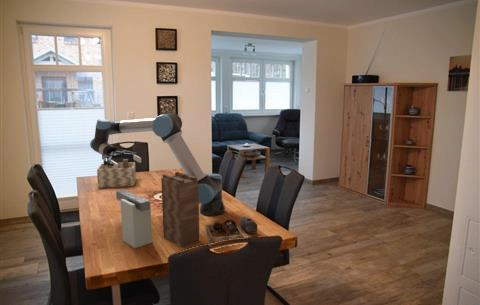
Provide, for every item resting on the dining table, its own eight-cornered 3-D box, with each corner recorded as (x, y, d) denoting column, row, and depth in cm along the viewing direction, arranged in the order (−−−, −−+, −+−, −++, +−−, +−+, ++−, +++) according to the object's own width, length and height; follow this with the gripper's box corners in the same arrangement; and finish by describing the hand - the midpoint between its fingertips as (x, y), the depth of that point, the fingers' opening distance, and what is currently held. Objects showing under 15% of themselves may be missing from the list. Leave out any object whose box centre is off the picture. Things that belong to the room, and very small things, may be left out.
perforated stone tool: (237, 226, 187) (236, 213, 186) (246, 224, 189) (246, 212, 188) (248, 236, 174) (248, 223, 173) (258, 235, 176) (258, 221, 175)
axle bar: (116, 198, 175) (116, 191, 175) (124, 197, 178) (123, 189, 177) (141, 211, 157) (141, 202, 156) (149, 209, 159) (149, 201, 159)
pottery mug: (232, 229, 184) (237, 218, 180) (234, 243, 177) (239, 232, 172) (210, 225, 181) (215, 214, 177) (211, 240, 174) (215, 229, 169)
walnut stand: (163, 237, 173) (161, 174, 168) (180, 231, 180) (178, 171, 175) (182, 247, 162) (180, 180, 157) (199, 241, 169) (198, 177, 163)
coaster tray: (235, 228, 185) (235, 222, 184) (243, 241, 169) (243, 235, 168) (206, 230, 181) (206, 225, 181) (211, 244, 165) (211, 238, 164)
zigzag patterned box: (135, 178, 292) (135, 162, 289) (134, 185, 270) (133, 167, 267) (102, 180, 286) (101, 163, 283) (98, 187, 264) (97, 169, 261)
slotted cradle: (122, 240, 169) (120, 199, 166) (139, 235, 175) (137, 195, 172) (134, 248, 161) (132, 205, 157) (152, 242, 167) (150, 201, 163)
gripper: (128, 152, 208) (149, 164, 195) (87, 162, 190) (107, 175, 177) (128, 141, 205) (149, 151, 193) (86, 149, 187) (106, 162, 175)
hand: (129, 163), depth 185 cm, fingers open, 13 cm apart
